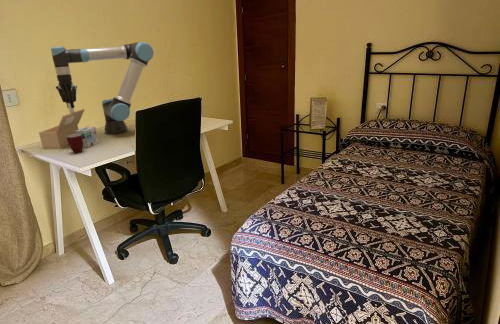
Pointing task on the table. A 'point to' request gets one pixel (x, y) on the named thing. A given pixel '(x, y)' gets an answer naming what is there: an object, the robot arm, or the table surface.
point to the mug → (75, 142)
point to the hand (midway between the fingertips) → (72, 113)
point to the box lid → (70, 120)
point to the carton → (56, 137)
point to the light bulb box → (88, 136)
